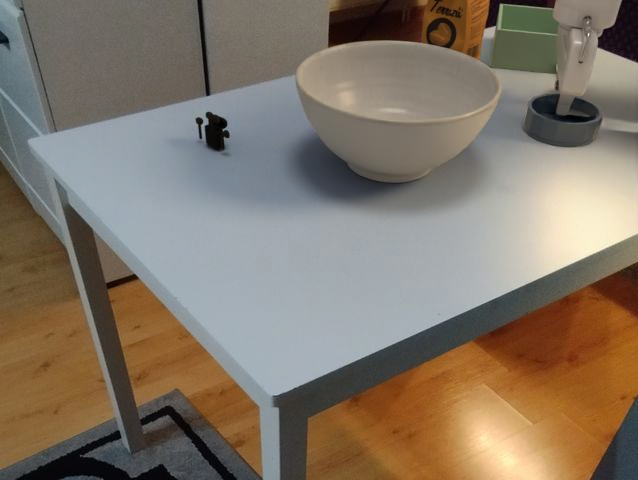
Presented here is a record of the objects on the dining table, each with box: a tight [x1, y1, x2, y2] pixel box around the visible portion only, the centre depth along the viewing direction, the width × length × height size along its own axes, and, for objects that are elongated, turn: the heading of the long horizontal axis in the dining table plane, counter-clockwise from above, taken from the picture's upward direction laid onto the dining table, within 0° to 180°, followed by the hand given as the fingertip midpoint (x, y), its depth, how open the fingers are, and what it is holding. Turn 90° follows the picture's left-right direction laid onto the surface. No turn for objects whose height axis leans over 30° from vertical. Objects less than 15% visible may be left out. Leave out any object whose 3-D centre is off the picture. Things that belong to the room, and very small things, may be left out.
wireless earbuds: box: [195, 111, 231, 151], centre depth 97 cm, size 7×2×5 cm, turn 48°
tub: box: [489, 3, 559, 75], centre depth 126 cm, size 15×15×6 cm
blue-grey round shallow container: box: [522, 93, 604, 148], centre depth 104 cm, size 11×11×4 cm
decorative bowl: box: [294, 39, 503, 184], centre depth 93 cm, size 27×27×12 cm
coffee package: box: [420, 0, 491, 61], centre depth 114 cm, size 10×12×22 cm
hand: (560, 101), depth 108 cm, fingers open, 8 cm apart
